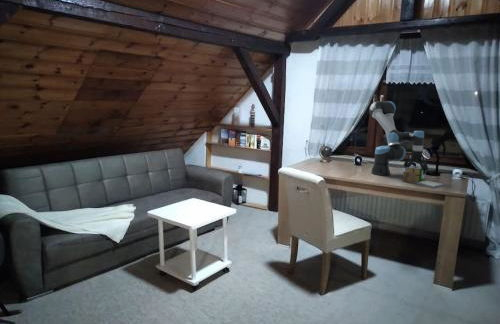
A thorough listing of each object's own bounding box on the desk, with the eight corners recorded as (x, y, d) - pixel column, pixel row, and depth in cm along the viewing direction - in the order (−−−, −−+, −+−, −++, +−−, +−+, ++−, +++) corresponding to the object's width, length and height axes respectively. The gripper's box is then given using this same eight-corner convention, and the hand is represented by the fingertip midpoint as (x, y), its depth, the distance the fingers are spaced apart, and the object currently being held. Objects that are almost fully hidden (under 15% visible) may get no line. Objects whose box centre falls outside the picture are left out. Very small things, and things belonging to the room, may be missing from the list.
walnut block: (402, 181, 278) (403, 171, 276) (407, 180, 281) (408, 171, 279) (409, 183, 273) (410, 173, 271) (414, 182, 276) (415, 172, 274)
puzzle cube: (409, 177, 292) (410, 165, 290) (422, 179, 286) (423, 167, 284) (405, 179, 285) (407, 167, 283) (419, 181, 278) (420, 169, 276)
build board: (416, 183, 272) (416, 182, 272) (426, 181, 279) (427, 180, 279) (433, 188, 260) (433, 186, 260) (444, 185, 268) (444, 184, 268)
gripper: (400, 148, 289) (398, 174, 293) (429, 153, 268) (426, 180, 272) (406, 148, 293) (403, 173, 297) (435, 152, 272) (432, 179, 276)
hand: (414, 176), depth 285 cm, fingers open, 13 cm apart
